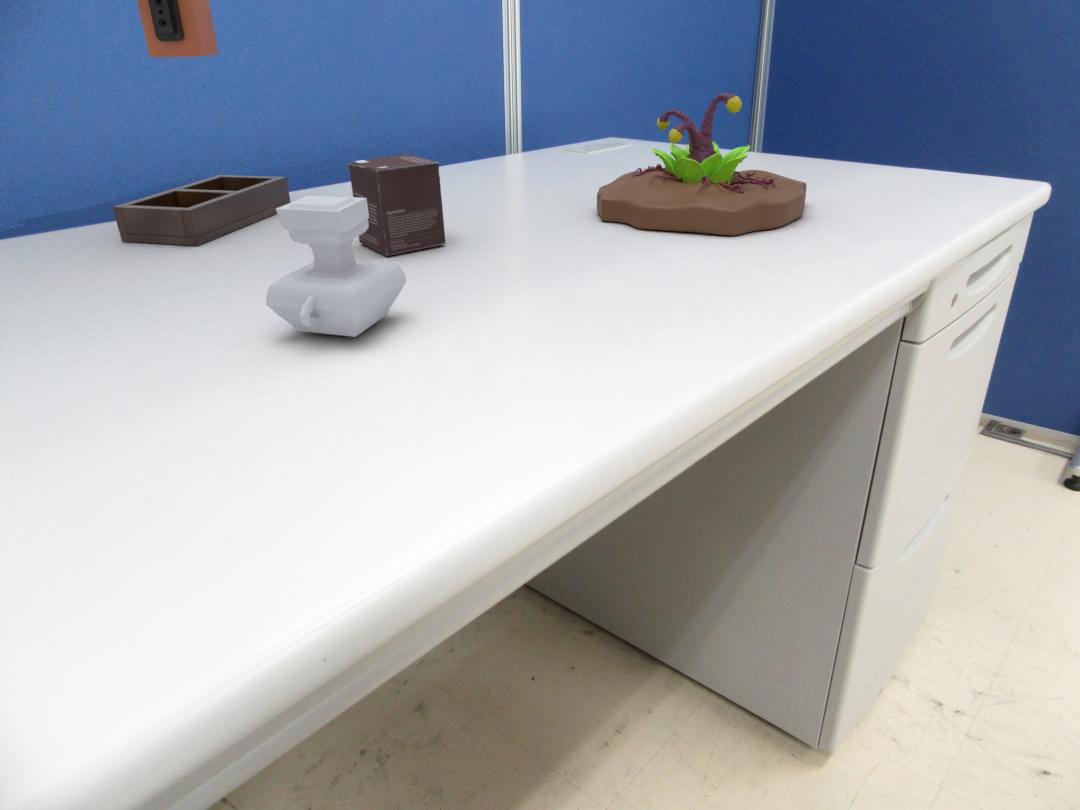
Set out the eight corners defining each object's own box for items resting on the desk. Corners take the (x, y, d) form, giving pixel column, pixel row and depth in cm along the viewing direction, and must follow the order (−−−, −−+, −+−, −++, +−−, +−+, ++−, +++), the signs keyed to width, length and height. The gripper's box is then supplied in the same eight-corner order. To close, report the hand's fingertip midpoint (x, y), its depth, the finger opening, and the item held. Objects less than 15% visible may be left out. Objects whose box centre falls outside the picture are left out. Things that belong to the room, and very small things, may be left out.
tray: (121, 241, 75) (112, 206, 73) (225, 204, 88) (219, 174, 87) (197, 246, 73) (189, 210, 71) (291, 207, 86) (286, 176, 85)
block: (149, 57, 69) (132, -21, 66) (168, 54, 73) (153, -19, 71) (202, 56, 69) (187, -22, 67) (218, 53, 73) (205, -20, 71)
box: (447, 246, 70) (440, 161, 67) (385, 258, 67) (375, 170, 64) (417, 232, 75) (409, 153, 72) (357, 243, 72) (346, 160, 69)
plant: (760, 245, 68) (774, 107, 63) (568, 220, 78) (567, 99, 73) (827, 200, 83) (843, 86, 78) (658, 184, 93) (662, 81, 88)
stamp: (354, 357, 48) (335, 219, 44) (261, 347, 50) (235, 214, 46) (417, 308, 56) (405, 187, 52) (334, 301, 58) (317, 184, 54)
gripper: (122, -176, 69) (168, 38, 77) (40, -218, 56) (104, 44, 64) (209, -177, 70) (245, 36, 77) (146, -219, 57) (197, 41, 64)
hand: (181, 38), depth 71 cm, fingers closed on block, 4 cm apart
